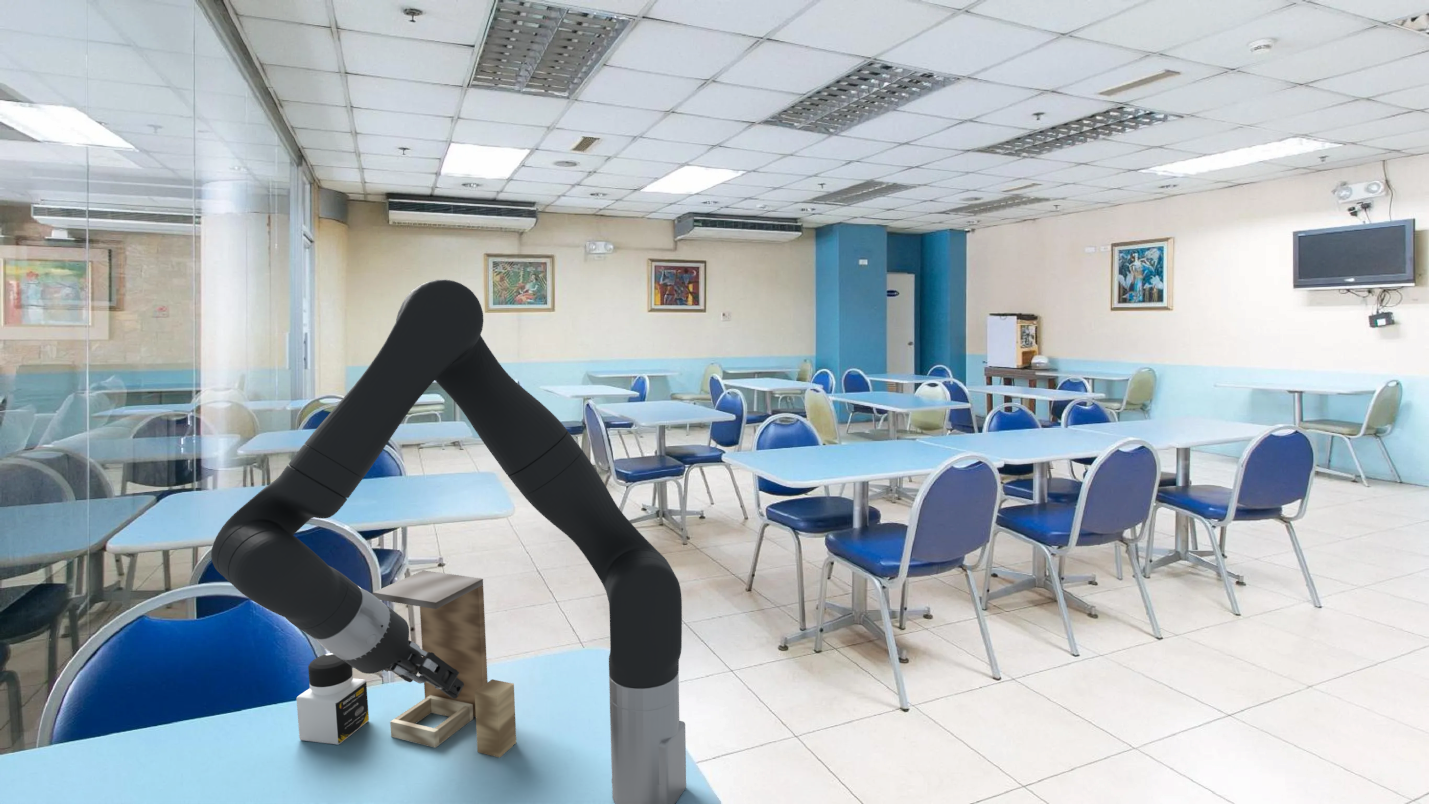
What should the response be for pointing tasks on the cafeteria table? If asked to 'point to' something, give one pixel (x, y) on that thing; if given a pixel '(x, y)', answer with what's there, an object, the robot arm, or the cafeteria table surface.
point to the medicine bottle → (331, 702)
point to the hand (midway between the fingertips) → (435, 682)
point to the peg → (495, 718)
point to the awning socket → (444, 648)
